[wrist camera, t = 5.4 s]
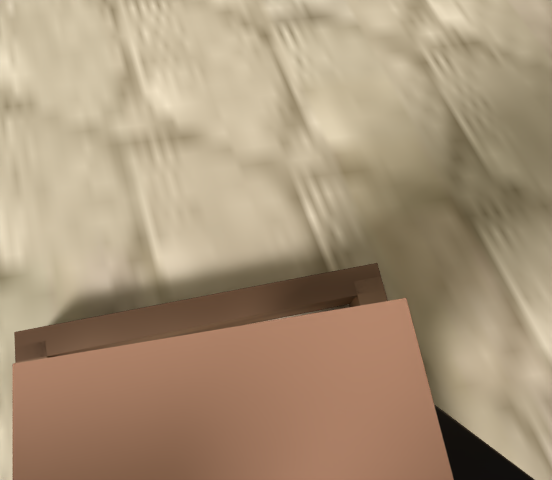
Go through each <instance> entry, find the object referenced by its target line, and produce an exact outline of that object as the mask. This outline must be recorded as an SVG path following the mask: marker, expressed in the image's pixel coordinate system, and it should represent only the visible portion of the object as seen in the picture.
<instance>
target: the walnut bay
mask: <svg viewBox="0 0 552 480" xmlns="http://www.w3.org/2000/svg"><path fill="white" fill-rule="evenodd" d="M385 301H388V300H387V296H386V293H385V289H384V286H383V282H382V278H381V275H380V271H379V268H378V264H377V263H374V264H369V265H364V266H359V267H353V268H348V269H343V270H338V271H332V272H327V273H322V274H317V275H311V276H306V277H301V278H296V279H290V280H285V281H280V282H275V283H269V284H264V285H259V286H254V287H248V288H243V289H238V290H233V291H228V292H222V293H217V294H212V295H207V296H201V297H196V298H191V299H186V300H180V301H175V302H170V303H165V304H159V305H154V306H149V307H144V308H138V309H133V310H128V311H123V312H117V313H112V314H107V315H102V316H97V317H91V318H86V319H81V320H76V321H70V322H65V323H60V324H55V325H49V326H44V327H39V328H34V329H28V330H23V331H18V332H15V360H16V363H20V362H26V361H32V360H38V359H44V358H50V357H56V356H62V355H68V354H74V353H80V352H86V351H92V350H98V349H104V348H110V347H116V346H122V345H128V344H134V343H140V342H146V341H152V340H158V339H164V338H170V337H176V336H182V335H188V334H194V333H200V332H206V331H212V330H218V329H224V328H229V327H235V326H241V325H247V324H252V323H257V322H262V321H267V320H272V319H277V318H282V317H287V316H292V315H297V314H302V313H307V312H312V311H317V310H322V309H327V308H333V307H338V306H343V305H348V304H349V306H350V307H355V306H361V305H367V304H373V303H379V302H385Z"/></svg>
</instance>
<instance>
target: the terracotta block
mask: <svg viewBox="0 0 552 480" xmlns="http://www.w3.org/2000/svg"><path fill="white" fill-rule="evenodd" d="M13 480H454V479H453V475H452V471H451V467H450V464H449V460H448V456H447V452H446V448H445V445H444V441H443V437H442V433H441V429H440V425H439V422H438V418H437V414H436V410H435V406H434V402H433V399H432V395H431V391H430V387H429V383H428V380H427V376H426V372H425V368H424V364H423V360H422V357H421V353H420V349H419V345H418V341H417V337H416V334H415V330H414V326H413V322H412V318H411V315H410V311H409V307H408V303H407V299H406V298H403V299H397V300H391V301H385V302H379V303H373V304H367V305H361V306H355V307H349V308H343V309H337V310H331V311H325V312H319V313H313V314H307V315H301V316H295V317H289V318H283V319H277V320H271V321H265V322H259V323H253V324H247V325H241V326H235V327H229V328H224V329H218V330H212V331H206V332H200V333H194V334H188V335H182V336H176V337H170V338H164V339H158V340H152V341H146V342H140V343H134V344H128V345H122V346H116V347H110V348H104V349H98V350H92V351H86V352H80V353H74V354H68V355H62V356H56V357H50V358H44V359H38V360H32V361H26V362H20V363H14V364H13Z"/></svg>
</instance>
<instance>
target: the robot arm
mask: <svg viewBox="0 0 552 480" xmlns="http://www.w3.org/2000/svg"><path fill="white" fill-rule="evenodd" d="M434 406H435V410H436V414H437V418H438V422H439V425H440V429H441V433H442V437H443V441H444V445H445V448H446V452H447V456H448V460H449V464H450V467H451V471H452V475H453V479H454V480H534V479H533V478H532V477H530V476H529V475H528V474H526V473H525V472H524V471H522V470H521V469H520V468H518V467H517V466H516V465H514V464H513V463H512V462H510V461H509V460H508V459H506V458H505V457H504V456H502V455H501V454H500V453H498V452H497V451H496V450H494V449H493V448H492V447H490V446H489V445H488V444H486V443H485V442H484V441H482V440H481V439H480V438H478V437H477V436H476V435H474V434H473V433H472V432H470V431H469V430H468V429H466V428H465V427H464V426H462V425H461V424H460V423H458V422H457V421H456V420H454V419H453V418H452V417H450V416H449V415H448V414H446V413H445V412H444V411H442V410H441V409H440V408H438V407H437V406H436V405H434Z"/></svg>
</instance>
